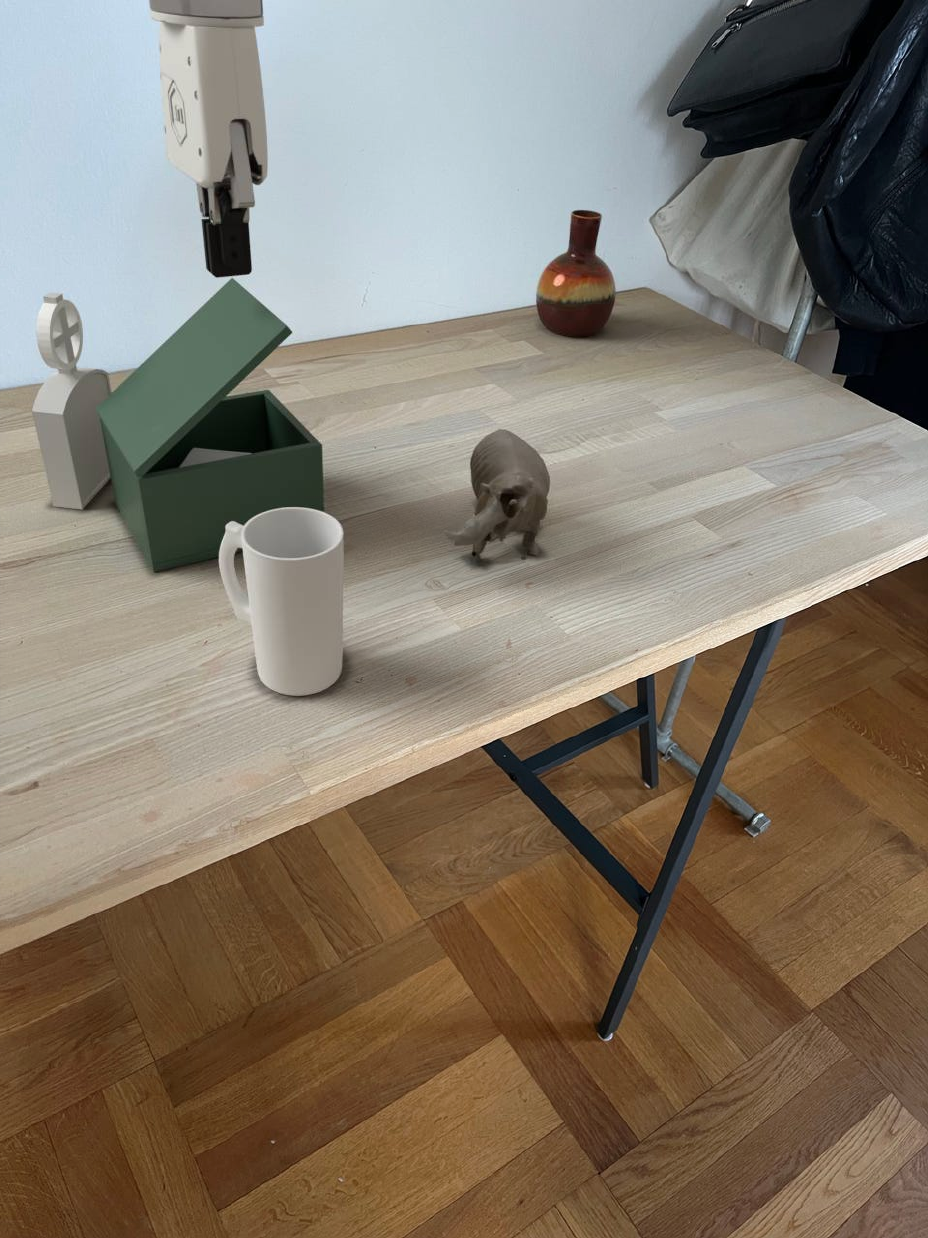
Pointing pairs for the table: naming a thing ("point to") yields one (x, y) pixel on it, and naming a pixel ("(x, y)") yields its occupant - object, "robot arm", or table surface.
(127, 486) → the bin
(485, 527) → the rhinoceros figurine
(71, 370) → the gravestone
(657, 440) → the table surface
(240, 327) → the bin lid
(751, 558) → the table surface
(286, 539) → the mug
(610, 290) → the vase
